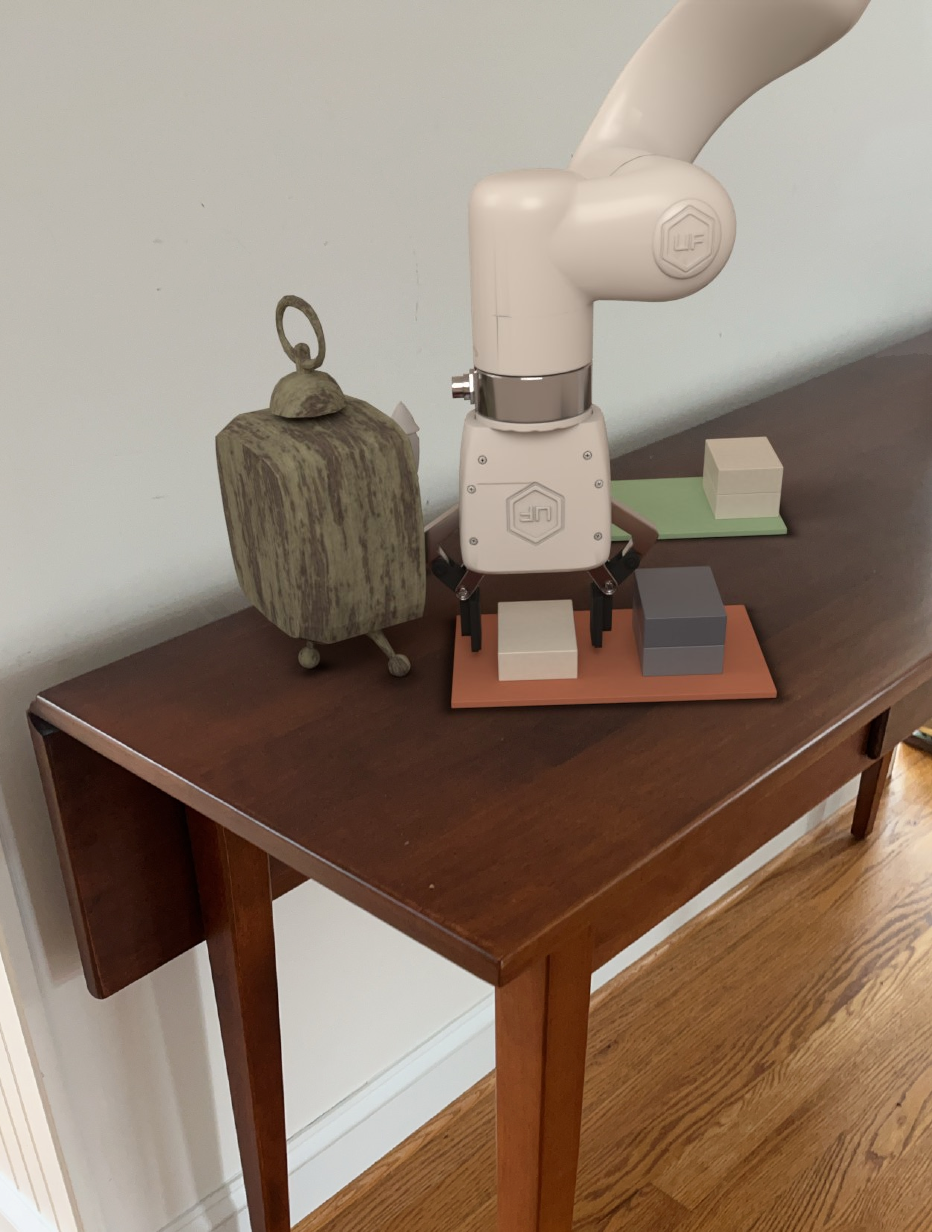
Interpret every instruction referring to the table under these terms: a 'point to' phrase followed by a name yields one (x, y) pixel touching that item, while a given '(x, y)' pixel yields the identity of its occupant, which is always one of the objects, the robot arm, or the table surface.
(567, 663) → the cream flat block
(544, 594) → the table surface
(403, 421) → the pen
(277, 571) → the tabletop clock
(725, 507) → the beige lidded box
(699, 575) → the grey blocks
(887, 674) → the table surface
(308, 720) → the table surface
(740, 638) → the terracotta rectangular mat
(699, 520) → the green mat
